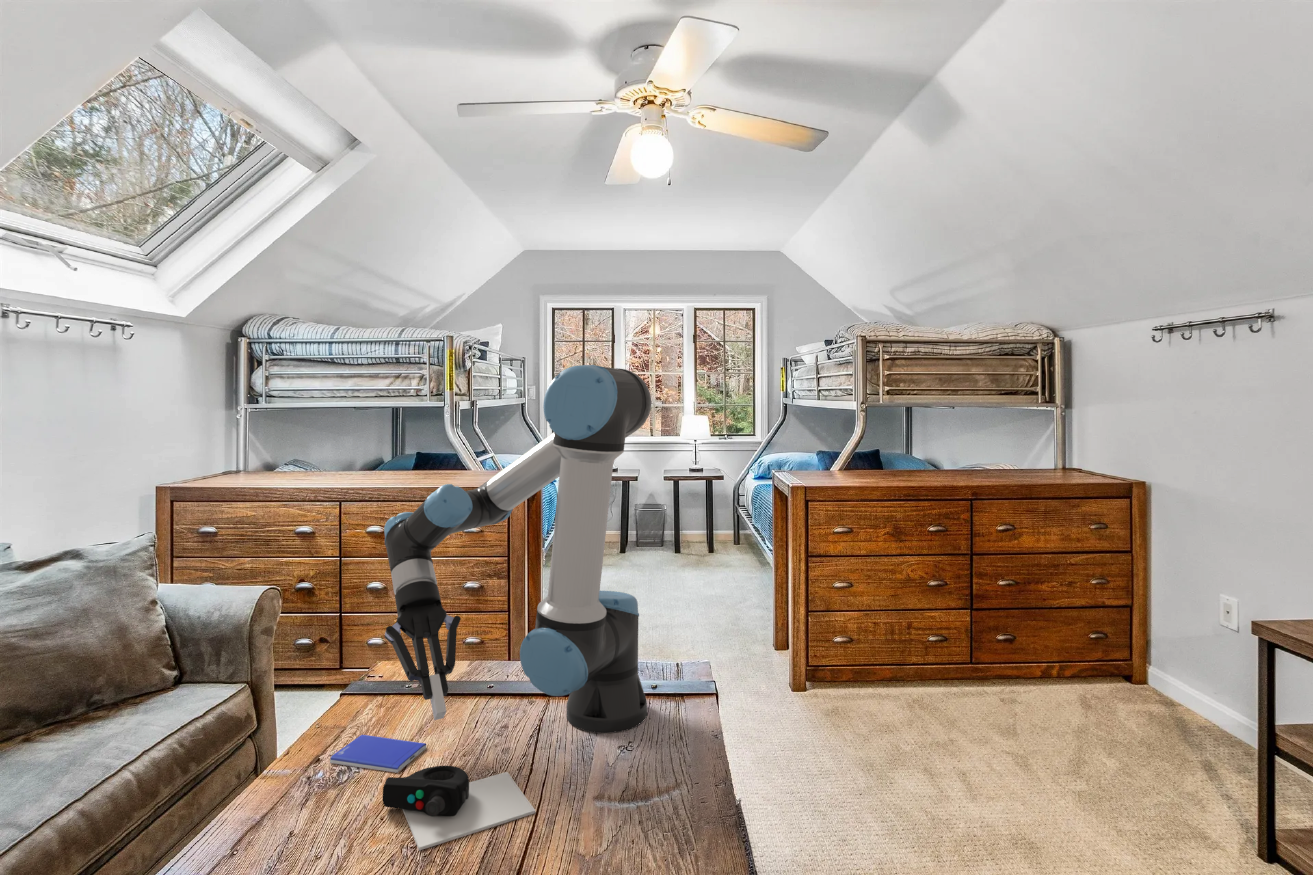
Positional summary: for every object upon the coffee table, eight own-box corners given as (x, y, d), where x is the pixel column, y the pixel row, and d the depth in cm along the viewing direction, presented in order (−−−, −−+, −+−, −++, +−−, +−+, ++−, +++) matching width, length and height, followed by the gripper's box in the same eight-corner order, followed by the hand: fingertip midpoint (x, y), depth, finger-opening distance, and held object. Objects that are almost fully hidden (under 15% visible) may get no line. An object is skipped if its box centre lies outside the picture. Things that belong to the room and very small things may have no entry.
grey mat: (507, 774, 107) (507, 771, 107) (535, 812, 97) (535, 810, 97) (400, 804, 99) (400, 801, 99) (418, 850, 88) (418, 847, 88)
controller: (484, 792, 102) (450, 827, 92) (409, 785, 104) (369, 818, 94) (484, 763, 102) (450, 794, 92) (409, 756, 104) (369, 786, 95)
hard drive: (329, 756, 110) (397, 766, 107) (362, 733, 118) (426, 741, 115) (329, 766, 110) (397, 776, 107) (362, 742, 118) (426, 750, 115)
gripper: (448, 596, 130) (475, 716, 116) (375, 606, 123) (394, 734, 109) (456, 574, 125) (484, 696, 111) (380, 583, 118) (401, 715, 105)
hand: (440, 715), depth 110 cm, fingers closed
